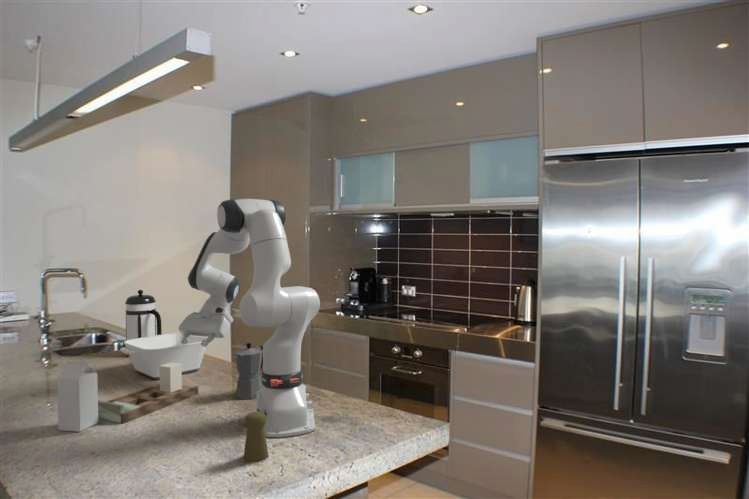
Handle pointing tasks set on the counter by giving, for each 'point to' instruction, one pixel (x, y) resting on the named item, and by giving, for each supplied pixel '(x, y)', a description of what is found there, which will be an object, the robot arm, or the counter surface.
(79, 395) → the milk carton
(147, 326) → the coffee press
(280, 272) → the robot arm
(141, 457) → the counter surface
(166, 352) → the tub
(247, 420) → the olive tapered knob-topped piece
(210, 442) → the counter surface
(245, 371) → the coffeepot
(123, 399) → the box
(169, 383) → the cream block
